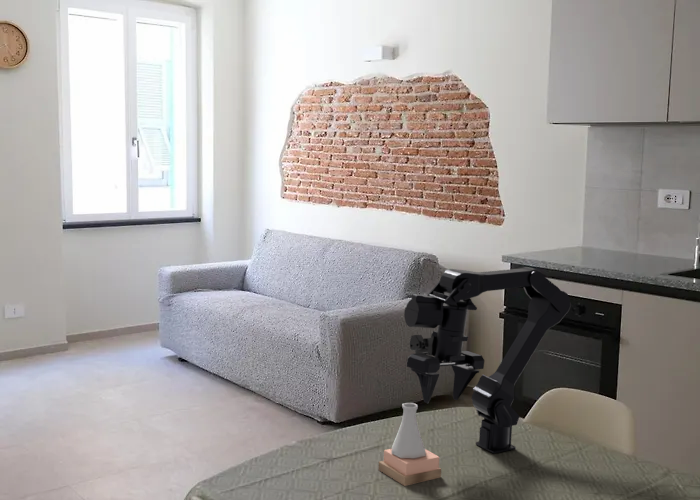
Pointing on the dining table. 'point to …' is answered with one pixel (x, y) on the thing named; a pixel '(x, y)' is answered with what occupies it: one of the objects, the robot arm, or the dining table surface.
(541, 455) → the dining table surface
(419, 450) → the flask
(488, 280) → the robot arm
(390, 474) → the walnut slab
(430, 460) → the terracotta slab
